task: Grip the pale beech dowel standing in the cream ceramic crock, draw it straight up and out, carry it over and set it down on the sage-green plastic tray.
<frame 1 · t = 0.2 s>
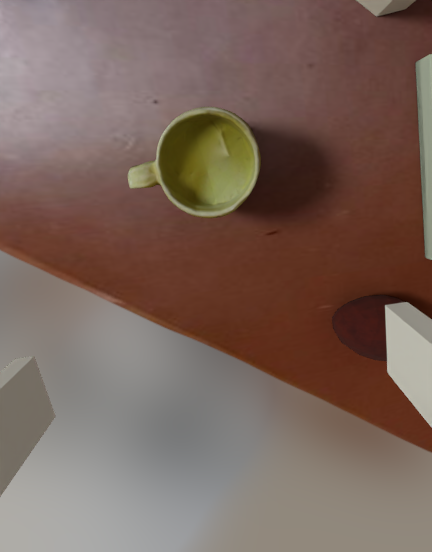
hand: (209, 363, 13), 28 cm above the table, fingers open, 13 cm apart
mug: (198, 166, 38), on the table
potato: (366, 315, 42), on the table
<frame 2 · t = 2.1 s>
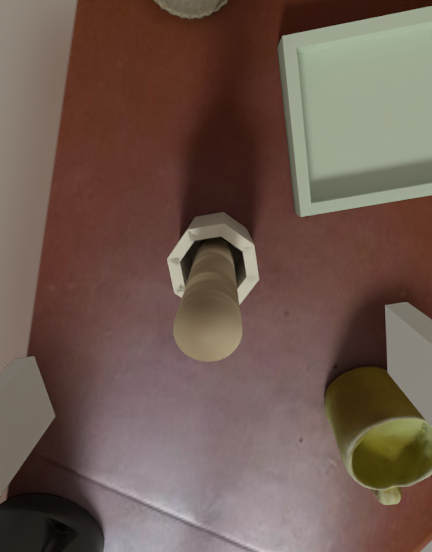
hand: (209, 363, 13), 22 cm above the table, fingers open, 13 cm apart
mug: (361, 409, 40), on the table
dowel: (215, 249, 34), point 1 cm above the table, touching crock
crock: (215, 247, 34), on the table
tray: (401, 114, 31), on the table
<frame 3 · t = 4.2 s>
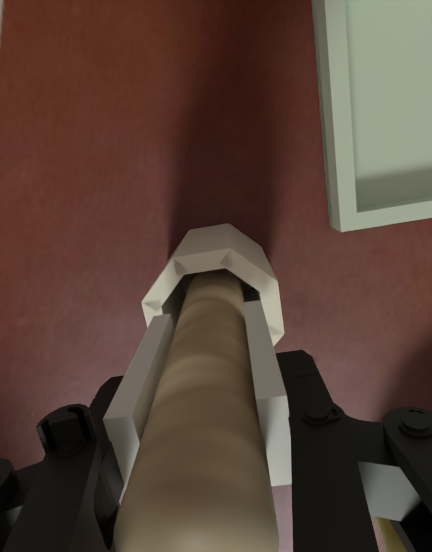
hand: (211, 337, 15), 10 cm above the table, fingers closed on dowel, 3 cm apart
mug: (408, 481, 30), on the table
dowel: (216, 275, 24), point 1 cm above the table, touching crock, gripper
crock: (217, 272, 25), on the table
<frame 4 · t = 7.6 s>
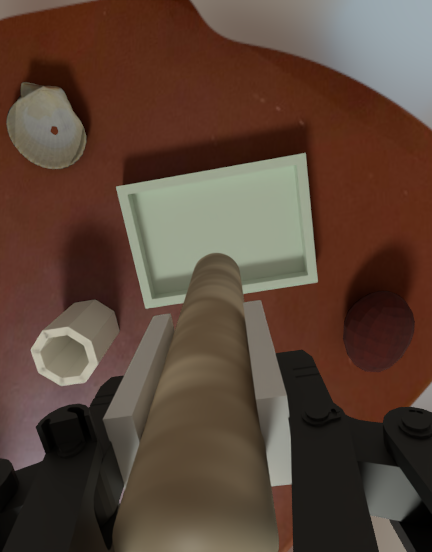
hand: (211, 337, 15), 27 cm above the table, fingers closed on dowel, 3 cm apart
dowel: (216, 275, 24), point 18 cm above the table, touching gripper
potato: (365, 320, 44), on the table
crock: (91, 325, 45), on the table
tray: (220, 232, 41), on the table
seashell: (55, 130, 39), on the table
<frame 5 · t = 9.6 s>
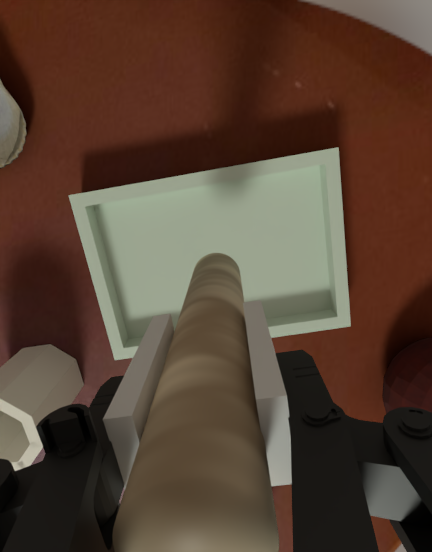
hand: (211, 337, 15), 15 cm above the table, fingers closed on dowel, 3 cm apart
dowel: (216, 275, 24), point 6 cm above the table, touching gripper
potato: (409, 372, 33), on the table
crock: (47, 376, 34), on the table
tray: (216, 256, 30), on the table
when the fingers open (11 cm above the table, at t = 11.2 s): dowel drops 1 cm, resting on tray.
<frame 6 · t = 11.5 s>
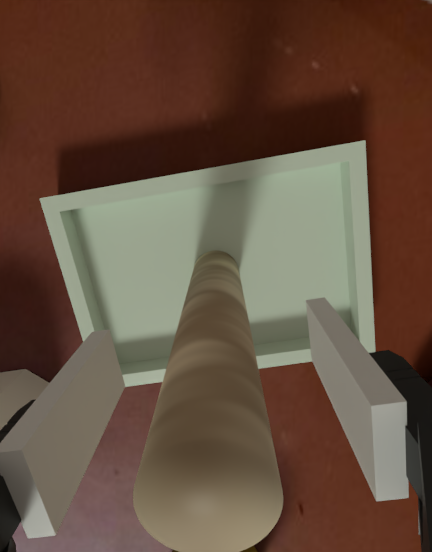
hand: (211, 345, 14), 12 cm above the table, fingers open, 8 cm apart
dowel: (216, 272, 25), point 1 cm above the table, touching tray
crock: (22, 405, 29), on the table
tray: (217, 269, 26), on the table
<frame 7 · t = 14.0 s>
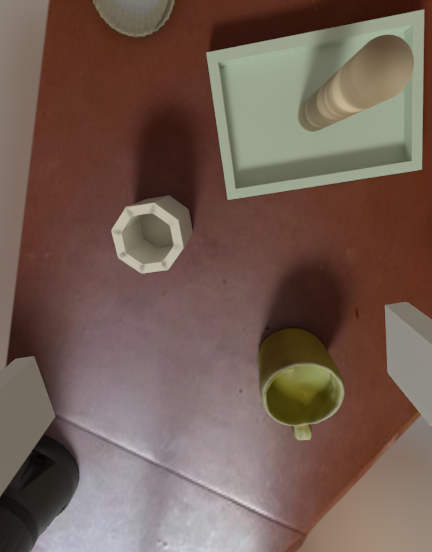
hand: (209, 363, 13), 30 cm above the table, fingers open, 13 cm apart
mug: (290, 366, 47), on the table
dowel: (313, 115, 36), point 1 cm above the table, touching tray
crock: (163, 225, 42), on the table
tray: (312, 116, 37), on the table
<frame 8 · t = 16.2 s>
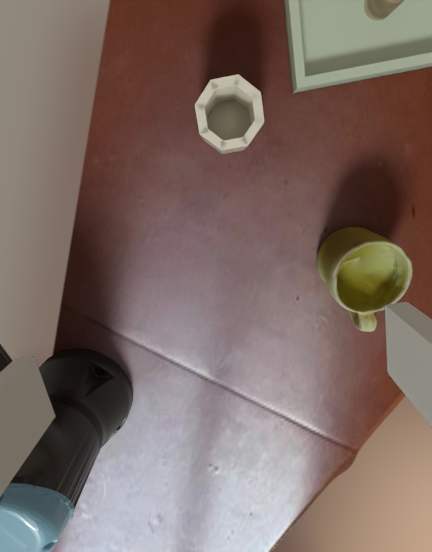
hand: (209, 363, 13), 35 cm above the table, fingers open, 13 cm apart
mug: (347, 270, 48), on the table
dowel: (379, 3, 38), point 1 cm above the table, touching tray
crock: (228, 123, 43), on the table
tray: (376, 6, 39), on the table
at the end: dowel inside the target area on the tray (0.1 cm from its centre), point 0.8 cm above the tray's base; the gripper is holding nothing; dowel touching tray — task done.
